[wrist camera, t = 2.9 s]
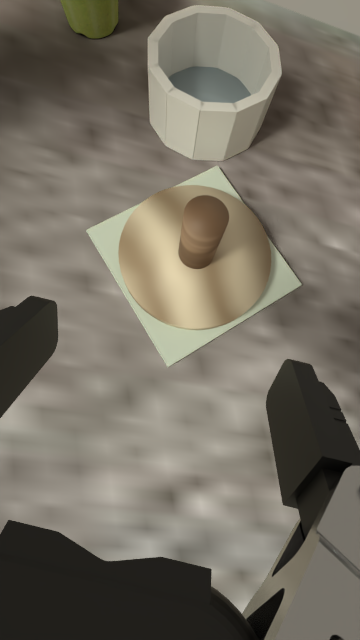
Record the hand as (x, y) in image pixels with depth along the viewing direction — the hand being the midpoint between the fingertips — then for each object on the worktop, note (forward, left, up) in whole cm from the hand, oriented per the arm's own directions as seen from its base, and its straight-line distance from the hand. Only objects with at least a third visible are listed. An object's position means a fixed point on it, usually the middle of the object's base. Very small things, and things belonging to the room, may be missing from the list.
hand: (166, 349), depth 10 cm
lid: (+9, +8, -17) cm, 21 cm away
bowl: (+20, +23, -17) cm, 35 cm away
